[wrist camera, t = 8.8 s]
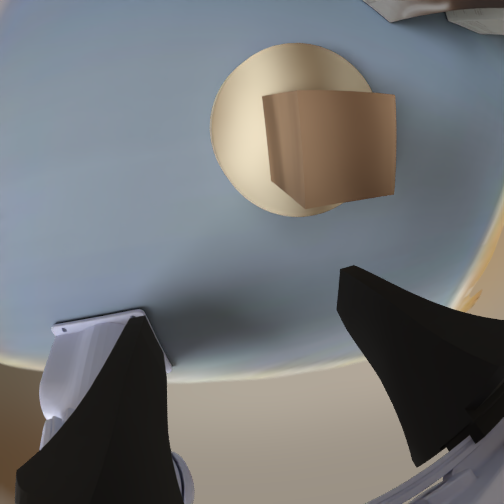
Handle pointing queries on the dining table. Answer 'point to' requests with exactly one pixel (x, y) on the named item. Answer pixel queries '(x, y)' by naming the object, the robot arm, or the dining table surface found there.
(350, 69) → the birch board
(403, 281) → the dining table surface
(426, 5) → the coffee box
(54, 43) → the dining table surface
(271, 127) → the walnut block
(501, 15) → the supplement box
